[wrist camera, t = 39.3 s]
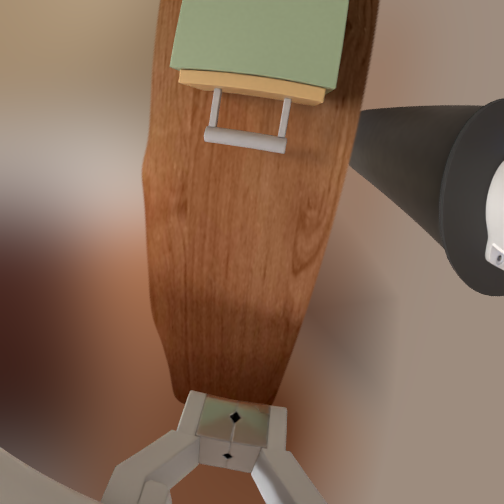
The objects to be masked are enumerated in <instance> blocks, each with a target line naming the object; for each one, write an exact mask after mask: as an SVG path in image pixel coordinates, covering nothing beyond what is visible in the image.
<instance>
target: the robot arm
mask: <svg viewBox="0 0 504 504" xmlns="http://www.w3.org/2000/svg"><path fill="white" fill-rule="evenodd" d="M486 224H487V230H488V241H487V246H486V252H485V258H486V260H487V261H488V262H490V263H491V264H493V265H495V266H497V267H498V268H500V269H502V270H504V161H503V162H502V163H501V165H500V166H499V167H498V169H497V171H496V173H495V175H494V177H493V179H492V182H491V184H490V188H489V191H488V196H487V202H486ZM498 256H499V258H498ZM286 425H287V409H286V408H285V407H277V406H270V405H266V404H259V403H252V402H246V401H239V400H238V401H236V400H231V399H227V398H222V397H218V396H214V395H209V394H205V393H201V392H197V391H192V390H191V391H190V393H189V395H188V398H187V401H186V404H185V407H184V410H183V413H182V416H181V419H180V422H179V425H178V428H177V431H174V430H171V431H170V432H168V433H167V434H165V435H164V436H162V437H161V438H159V439H158V440H156V441H155V442H153V443H152V444H150V445H149V446H147V447H146V448H144V449H143V450H141V451H140V452H138V453H136V454H135V455H133V456H132V457H130V458H129V459H127V460H125V461H124V462H122V463H120V464H119V465H117V466H116V467H115V469H114V472H113V474H112V476H111V479H110V481H109V483H108V485H107V488H106V490H105V492H104V495H103V497H102V500H101V502H99V501H96V500H94V499H92V498H90V497H87V496H85V495H83V494H81V493H79V492H76V491H74V490H72V489H70V488H68V487H66V486H64V485H62V484H60V483H58V482H56V481H55V480H53V479H51V478H49V477H47V476H45V475H43V474H42V473H40V472H38V471H37V470H35V469H33V468H31V467H30V466H28V465H26V464H25V463H23V462H22V461H20V460H18V459H17V458H15V457H14V456H12V455H11V454H9V453H8V452H6V451H5V450H3V449H2V448H1V447H0V504H172V501H171V495H170V488H172V487H173V486H174V485H176V484H177V483H178V482H179V481H180V480H181V479H183V478H184V477H185V476H186V475H187V474H188V473H190V472H191V471H192V470H193V469H194V468H195V467H196V466H197V465H198V463H200V464H205V465H210V466H216V467H222V468H228V469H232V470H238V471H243V472H249V473H251V475H252V477H253V479H254V480H255V483H256V485H257V487H258V489H259V490H260V493H261V495H262V496H263V498H264V500H265V502H266V503H267V504H327V502H326V501H325V500H324V499H323V497H322V496H321V494H320V493H319V492H318V490H317V489H316V487H315V486H314V485H313V483H312V482H311V480H310V479H309V478H308V476H307V475H306V473H305V472H304V471H303V469H302V468H301V466H300V465H299V463H298V462H297V461H296V459H295V458H294V456H293V455H292V453H291V452H290V451H286V427H287V426H286Z"/></svg>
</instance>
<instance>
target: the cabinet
mask: <svg viewBox="0 0 504 504" xmlns="http://www.w3.org/2000/svg"><path fill="white" fill-rule="evenodd" d="M348 6H349V0H183V2H182V6H181V10H180V15H179V20H178V24H177V29H176V34H175V40H174V45H173V50H172V56H171V62H170V67H171V68H174V69H176V70H179V71H180V70H181V69H190V70H206V71H219V72H229V73H239V74H247V75H250V74H251V75H258V76H265V77H272V78H278V79H284V80H290V81H295V82H298V83H304V84H309V85H313V86H318V87H323V88H326V92H325V95H326V94H328V93H329V92H331V91H332V90H334V89H336V84H337V79H338V73H339V66H340V60H341V54H342V48H343V41H344V34H345V27H346V20H347V13H348Z"/></svg>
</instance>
